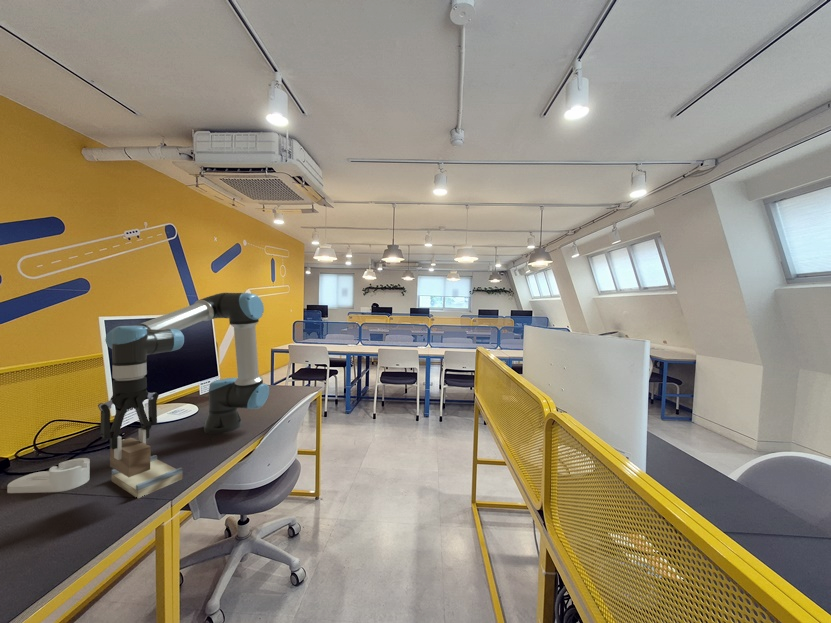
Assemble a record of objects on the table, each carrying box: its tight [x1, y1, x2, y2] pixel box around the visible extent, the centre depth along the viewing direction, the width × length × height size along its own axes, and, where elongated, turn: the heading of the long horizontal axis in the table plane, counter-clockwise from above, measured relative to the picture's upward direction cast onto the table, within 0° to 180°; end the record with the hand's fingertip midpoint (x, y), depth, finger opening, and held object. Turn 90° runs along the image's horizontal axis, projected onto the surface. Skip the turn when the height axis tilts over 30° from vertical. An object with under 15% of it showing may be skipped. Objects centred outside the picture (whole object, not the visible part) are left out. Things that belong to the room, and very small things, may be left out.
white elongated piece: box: [6, 457, 91, 494], centre depth 99 cm, size 20×9×7 cm, turn 95°
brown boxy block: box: [109, 437, 152, 477], centre depth 93 cm, size 5×12×7 cm, turn 64°
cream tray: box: [111, 454, 184, 499], centre depth 103 cm, size 12×18×4 cm, turn 63°
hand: (130, 453), depth 93 cm, fingers closed on brown boxy block, 5 cm apart
